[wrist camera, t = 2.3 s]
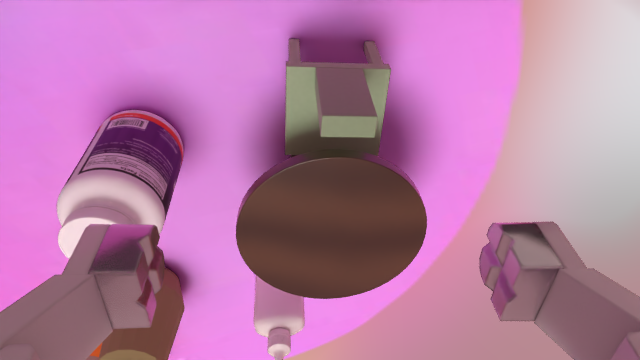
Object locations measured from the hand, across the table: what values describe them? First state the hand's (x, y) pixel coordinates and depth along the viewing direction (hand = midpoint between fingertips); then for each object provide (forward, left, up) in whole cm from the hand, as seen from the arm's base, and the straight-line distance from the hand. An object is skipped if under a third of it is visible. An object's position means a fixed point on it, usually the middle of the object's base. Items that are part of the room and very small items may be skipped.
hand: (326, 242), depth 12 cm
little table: (+17, -10, -32) cm, 38 cm away
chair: (+10, -4, -32) cm, 34 cm away
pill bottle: (+4, -22, -32) cm, 40 cm away
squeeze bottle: (+18, -36, -32) cm, 52 cm away
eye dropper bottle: (+27, -24, -32) cm, 49 cm away
